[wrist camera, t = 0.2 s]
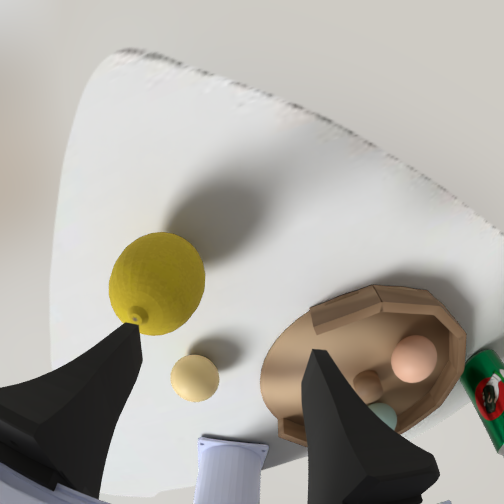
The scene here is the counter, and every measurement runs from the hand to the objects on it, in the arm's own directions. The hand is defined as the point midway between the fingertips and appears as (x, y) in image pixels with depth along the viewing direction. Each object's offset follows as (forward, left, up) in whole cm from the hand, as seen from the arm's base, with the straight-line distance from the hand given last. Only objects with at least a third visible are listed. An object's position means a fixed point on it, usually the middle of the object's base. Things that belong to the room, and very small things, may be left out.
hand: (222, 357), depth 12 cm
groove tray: (-10, -12, -10) cm, 19 cm away
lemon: (0, +5, -10) cm, 11 cm away
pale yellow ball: (-10, +3, -10) cm, 15 cm away
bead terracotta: (-6, -15, -10) cm, 19 cm away
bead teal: (-15, -15, -10) cm, 23 cm away
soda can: (-9, -26, -10) cm, 30 cm away
